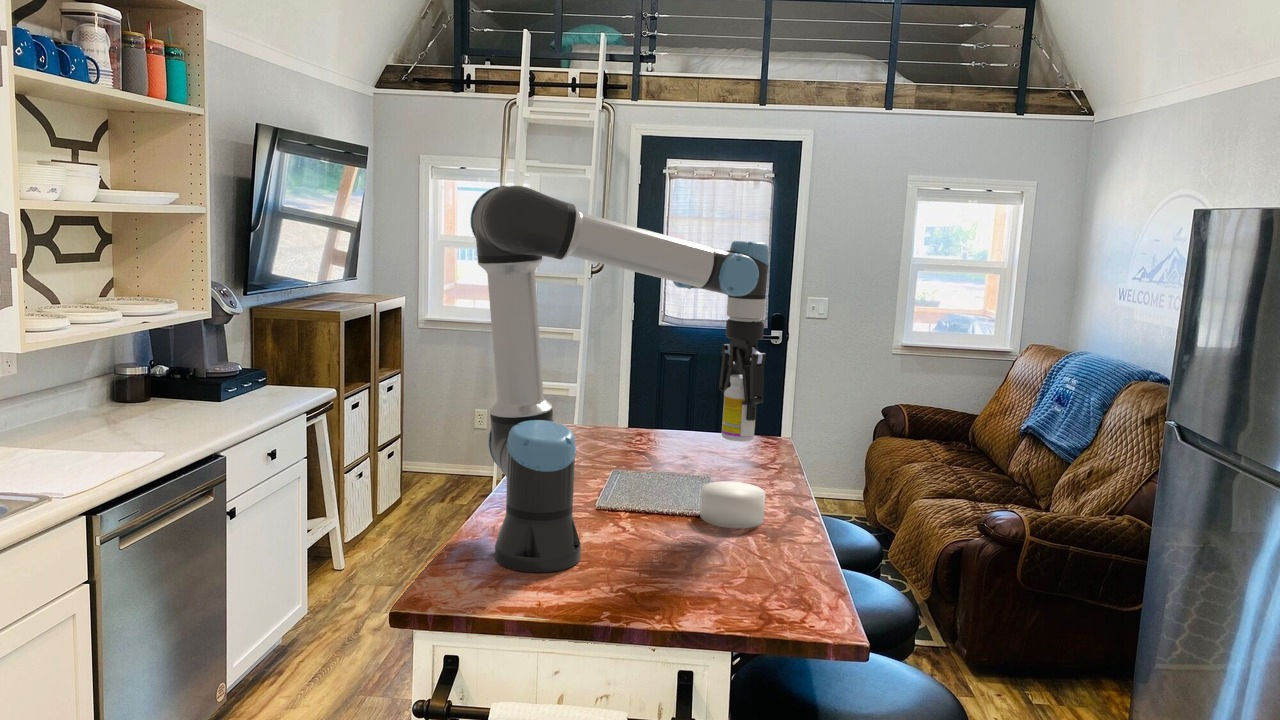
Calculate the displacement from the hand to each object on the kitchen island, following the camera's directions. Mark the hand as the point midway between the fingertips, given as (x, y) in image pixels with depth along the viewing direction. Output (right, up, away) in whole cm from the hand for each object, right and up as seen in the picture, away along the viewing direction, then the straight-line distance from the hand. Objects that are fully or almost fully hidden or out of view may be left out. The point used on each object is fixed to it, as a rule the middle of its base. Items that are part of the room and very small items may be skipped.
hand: (738, 431), depth 187 cm
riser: (-1, -18, +3) cm, 18 cm away
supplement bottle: (0, -2, 0) cm, 2 cm away
